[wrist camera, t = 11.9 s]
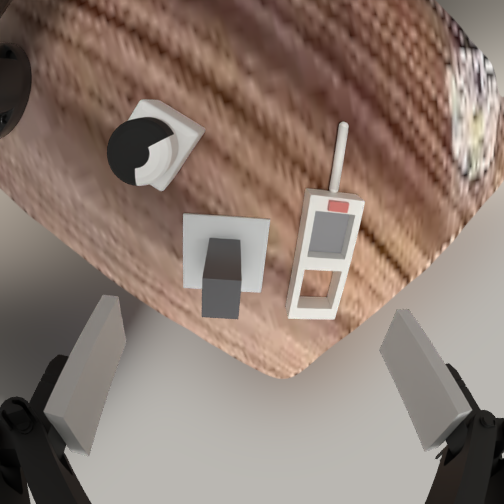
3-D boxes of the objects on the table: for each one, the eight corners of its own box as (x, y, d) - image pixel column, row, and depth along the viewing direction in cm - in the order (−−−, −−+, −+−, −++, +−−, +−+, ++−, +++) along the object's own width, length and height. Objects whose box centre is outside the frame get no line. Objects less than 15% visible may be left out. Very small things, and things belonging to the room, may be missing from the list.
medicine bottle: (128, 148, 35) (86, 168, 24) (157, 98, 32) (123, 97, 22) (175, 177, 37) (150, 208, 26) (206, 129, 34) (193, 139, 24)
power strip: (315, 116, 34) (323, 118, 31) (368, 126, 35) (380, 129, 32) (285, 306, 46) (288, 321, 43) (329, 307, 47) (335, 322, 44)
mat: (183, 213, 39) (183, 214, 39) (269, 218, 40) (270, 220, 40) (183, 286, 44) (183, 287, 44) (260, 290, 45) (260, 292, 44)
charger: (209, 237, 40) (202, 278, 31) (240, 239, 41) (241, 280, 32) (208, 271, 43) (201, 316, 34) (237, 273, 43) (238, 319, 34)
